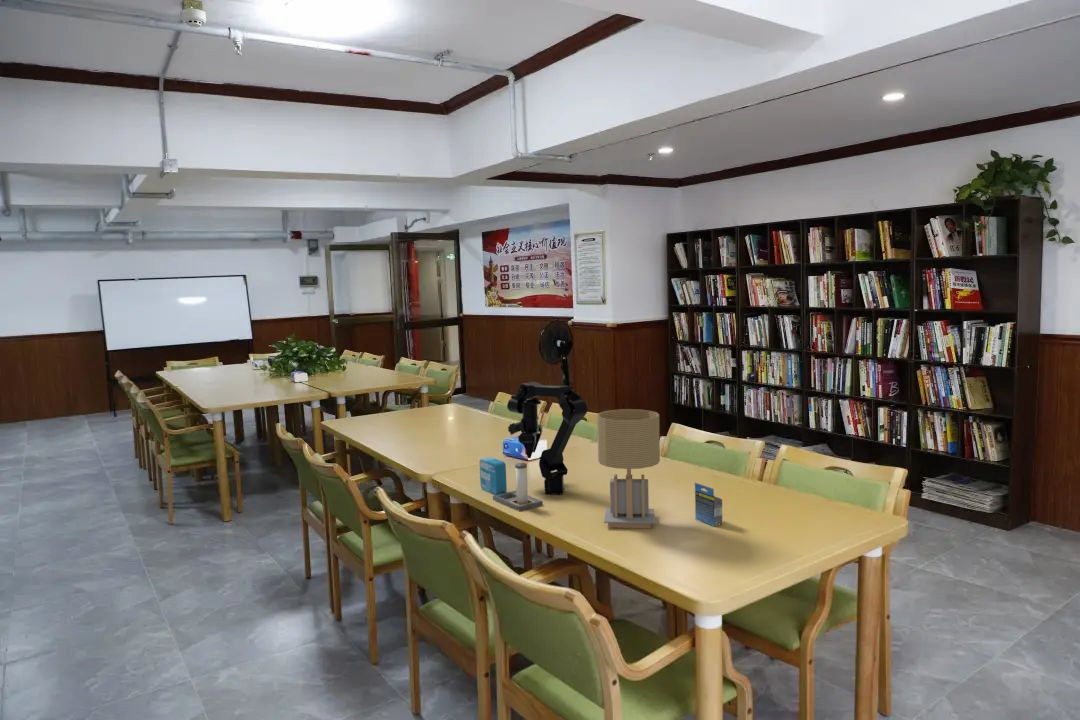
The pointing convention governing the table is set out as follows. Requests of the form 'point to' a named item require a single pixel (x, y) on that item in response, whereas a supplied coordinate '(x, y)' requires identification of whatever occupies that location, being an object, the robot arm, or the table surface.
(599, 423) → the desk lamp
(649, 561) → the table surface
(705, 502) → the label tape cartridge
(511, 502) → the jack panel
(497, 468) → the blue box
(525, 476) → the white cylinder with cap
